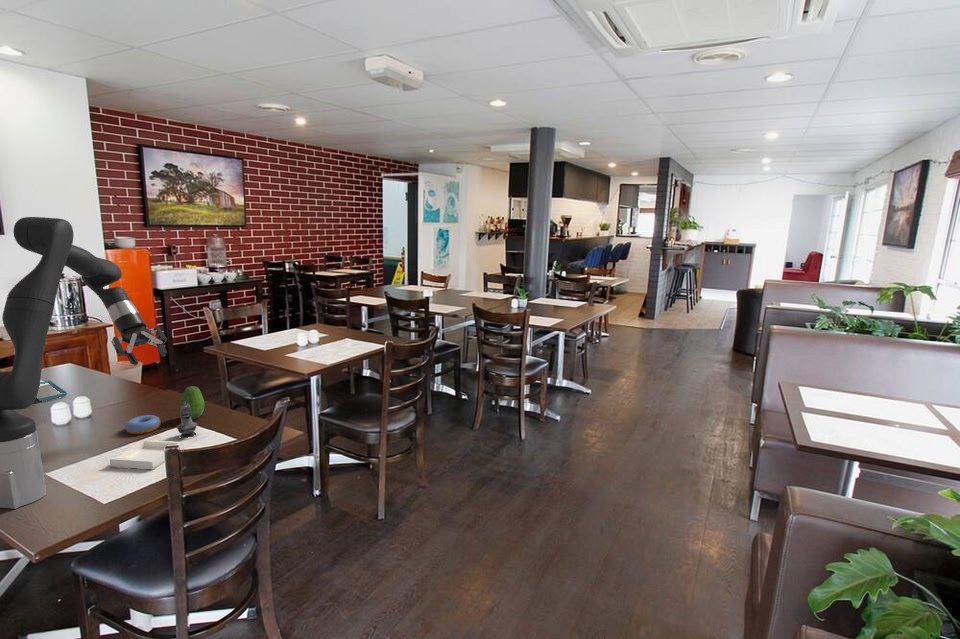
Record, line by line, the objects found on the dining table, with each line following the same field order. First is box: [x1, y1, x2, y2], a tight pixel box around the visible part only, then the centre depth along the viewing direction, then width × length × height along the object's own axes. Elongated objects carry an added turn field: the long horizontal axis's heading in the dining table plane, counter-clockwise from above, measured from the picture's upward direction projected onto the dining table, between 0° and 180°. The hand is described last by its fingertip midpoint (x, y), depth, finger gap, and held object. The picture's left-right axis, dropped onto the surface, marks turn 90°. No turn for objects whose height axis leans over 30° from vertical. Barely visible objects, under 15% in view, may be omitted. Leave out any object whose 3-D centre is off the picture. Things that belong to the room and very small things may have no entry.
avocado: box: [178, 385, 205, 420], centre depth 177 cm, size 8×8×12 cm
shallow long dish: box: [36, 380, 68, 402], centre depth 201 cm, size 26×9×2 cm, turn 52°
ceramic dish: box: [109, 439, 185, 471], centre depth 148 cm, size 13×13×2 cm
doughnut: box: [124, 414, 162, 435], centre depth 168 cm, size 10×10×5 cm
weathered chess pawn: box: [176, 401, 198, 438], centre depth 162 cm, size 6×6×12 cm
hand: (150, 359), depth 161 cm, fingers open, 8 cm apart
